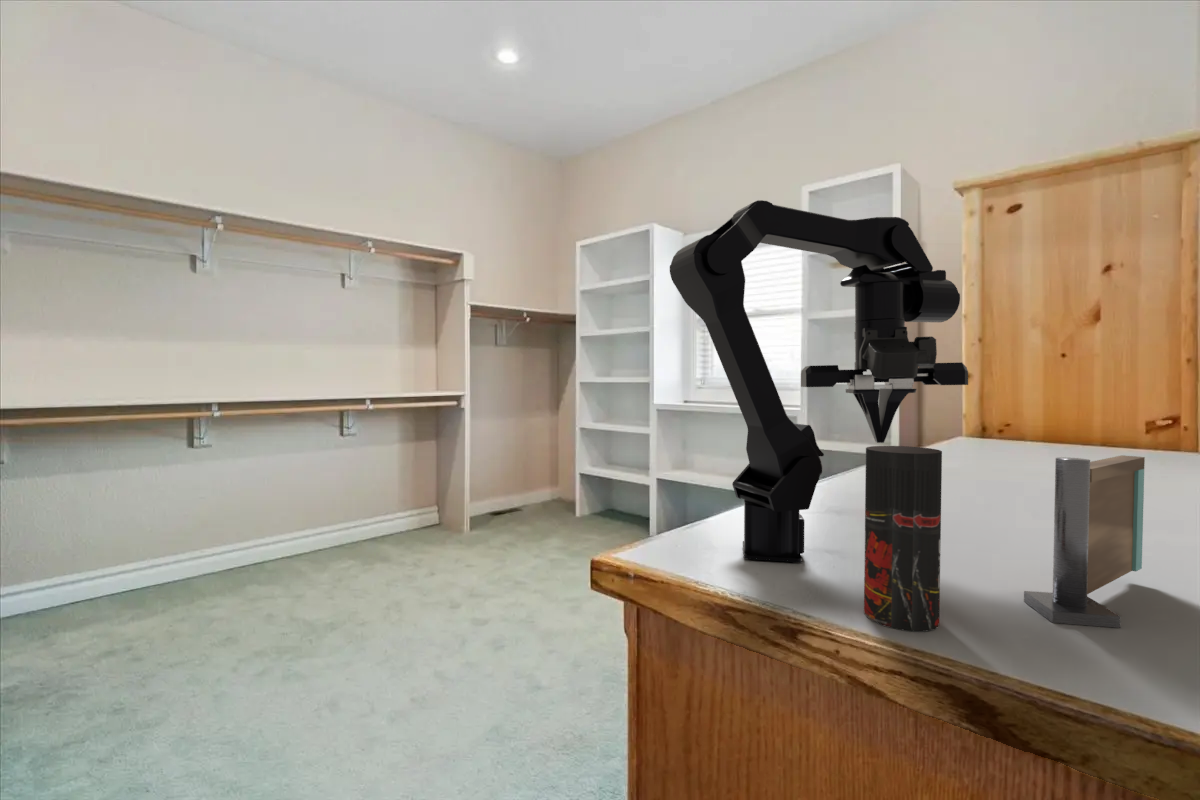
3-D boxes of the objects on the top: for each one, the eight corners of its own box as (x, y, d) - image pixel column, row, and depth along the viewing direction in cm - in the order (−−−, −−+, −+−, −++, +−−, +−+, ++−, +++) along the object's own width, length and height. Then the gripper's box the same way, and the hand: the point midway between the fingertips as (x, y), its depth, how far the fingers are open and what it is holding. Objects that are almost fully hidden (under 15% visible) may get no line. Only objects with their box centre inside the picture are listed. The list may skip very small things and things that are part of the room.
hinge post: (1052, 622, 50) (1056, 462, 49) (1023, 601, 55) (1026, 454, 54) (1120, 627, 49) (1124, 463, 48) (1084, 605, 54) (1088, 456, 53)
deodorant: (950, 634, 48) (953, 454, 47) (873, 628, 49) (875, 452, 48) (925, 606, 54) (927, 446, 53) (857, 602, 55) (858, 445, 54)
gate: (1064, 590, 53) (1067, 466, 53) (1119, 563, 61) (1121, 455, 61) (1088, 596, 52) (1091, 468, 51) (1141, 568, 60) (1144, 457, 59)
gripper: (812, 317, 68) (813, 449, 68) (989, 311, 64) (988, 450, 64) (800, 326, 79) (800, 439, 79) (950, 321, 75) (950, 440, 75)
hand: (879, 442), depth 74 cm, fingers closed
